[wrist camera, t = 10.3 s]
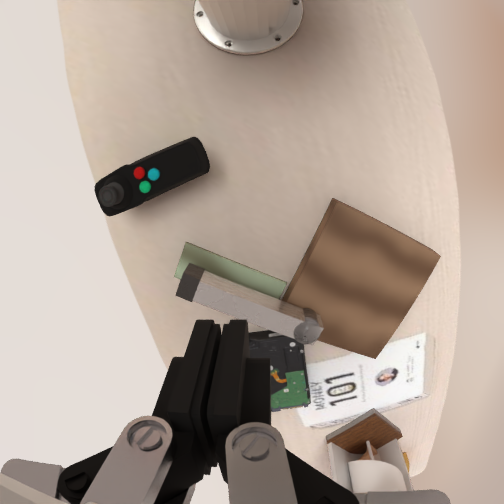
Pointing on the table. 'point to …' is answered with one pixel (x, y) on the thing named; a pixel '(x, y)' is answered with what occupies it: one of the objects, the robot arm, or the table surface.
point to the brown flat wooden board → (342, 278)
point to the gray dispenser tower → (368, 456)
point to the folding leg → (249, 305)
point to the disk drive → (283, 368)
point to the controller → (151, 176)
